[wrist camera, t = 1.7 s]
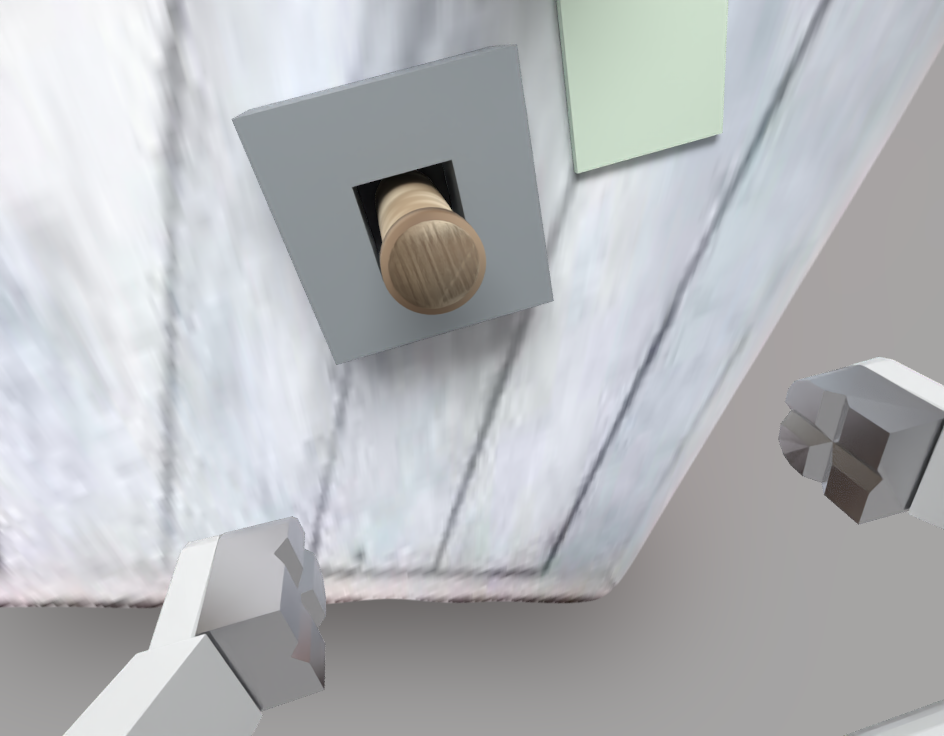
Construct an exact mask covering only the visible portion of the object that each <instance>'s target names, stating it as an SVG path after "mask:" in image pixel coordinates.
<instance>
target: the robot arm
mask: <svg viewBox="0 0 944 736" xmlns="http://www.w3.org/2000/svg"><path fill="white" fill-rule="evenodd" d="M786 404H787V405H788V406H789V408H790V409H791V411H790V412H789V414H788V415H787V416H786V417H785V419H784V420H783V421H782V423H781V426H780V433H779V442H780V446H781V449H782V452H783V455H784V456H785V458H786V459H787V460H788V462H789V464H790V465H791V466H792V467H793V468H794V469H795V470H797V472H799V473H800V474H801V475H802V476H804V477H807V478H810V479H812V480H815V481H818V482H821V483H822V487H823V493H824V495H825V496H826V497H827V498H828V499H829V500H831V501H832V502H833V503H834V504H835V505H836V506H838V507H839V508H840V509H841V510H842V511H844V512H845V513H846V514H847V515H848V516H849V517H850V518H851V519H853V520H854V521H855V522H856V523H857V524H862V523H866V522H869V521H873V520H877V519H880V518H884V517H887V516H891V515H894V514H898V513H901V512H905V511H909V512H908V514H909V515H912V516H914V517H916V518H919V519H921V520H923V521H925V522H927V523H930V524H932V525H934V526H937V527H939V528H941V529H943V530H944V386H943V385H941V384H939V383H937V382H935V381H933V380H931V379H930V378H927V377H926V376H923V375H921V374H920V373H918V372H916V371H914V370H912V369H910V368H908V367H906V366H904V365H902V364H900V363H898V362H897V361H895V360H893V359H888V358H882V357H877V358H873V359H870V360H866V361H863V362H859V363H856V364H852V365H850V366H848V367H843V368H840V369H836V370H832V371H829V372H825V373H822V374H818V375H815V376H811V377H807V378H804V379H800V380H796V381H794V383H793V384H792V385H791V386H790V388H789V389H788V392H787V397H786ZM304 545H305V532H304V530H303V528H302V526H301V524H300V522H299V520H298V518H296V517H293V516H292V517H287V518H283V519H279V520H275V521H271V522H267V523H263V524H259V525H255V526H251V527H247V528H243V529H238V530H234V531H230V532H226V533H224V534H222V535H217V536H213V537H209V538H205V539H201V540H197V541H192V542H188V543H187V545H186V546H185V547H184V548H183V549H182V550H181V552H180V554H179V557H178V560H177V563H176V567H175V570H174V573H173V576H172V579H171V582H170V585H169V588H168V591H167V594H166V597H165V600H164V604H163V607H162V610H161V613H160V616H159V619H158V623H157V625H156V628H155V631H154V634H153V638H152V641H151V644H150V647H149V650H147V651H145V652H141V653H138V654H136V655H135V656H134V657H133V658H132V659H131V660H130V661H129V663H128V664H127V665H126V666H125V667H124V668H123V669H122V670H121V672H120V673H119V674H118V675H117V676H116V677H115V678H114V679H113V680H112V682H111V683H110V684H109V685H108V686H107V687H106V688H105V689H104V690H103V691H102V693H101V694H100V695H99V696H98V697H97V698H96V699H95V700H94V701H93V703H92V704H91V705H90V706H89V707H88V708H87V709H86V711H85V712H84V713H83V714H82V715H81V716H80V717H79V718H78V719H77V720H76V722H75V723H74V724H73V725H72V726H71V727H70V728H69V729H68V730H67V731H66V733H65V734H64V735H63V736H252V735H253V733H254V731H255V729H256V727H257V725H258V723H259V721H260V720H261V718H262V716H263V715H262V713H261V711H264V710H267V709H270V708H273V707H276V706H279V705H282V704H285V703H288V702H291V701H294V700H297V699H300V698H302V697H306V696H308V695H311V694H314V693H317V692H320V691H323V690H324V686H325V684H324V683H325V681H324V680H325V642H324V641H323V638H322V636H321V635H320V632H319V630H318V627H319V626H320V624H321V623H322V621H323V620H324V618H325V616H326V596H325V588H324V581H323V576H322V573H321V569H320V566H319V563H318V561H317V558H316V556H315V554H314V553H312V552H310V551H308V550H306V549H304ZM844 736H944V700H941V701H938V702H935V703H933V704H930V705H927V706H924V707H921V708H919V709H916V710H913V711H911V712H908V713H905V714H902V715H899V716H897V717H894V718H891V719H888V720H886V721H883V722H880V723H877V724H874V725H872V726H869V727H866V728H863V729H861V730H858V731H855V732H852V733H850V734H847V735H844Z"/></svg>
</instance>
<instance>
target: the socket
mask: <svg viewBox="0 0 944 736" xmlns="http://www.w3.org/2000/svg"><path fill="white" fill-rule="evenodd" d="M232 121H233V124H234V126H235V128H236V131H237V133H238V135H239V138H240V140H241V142H242V145H243V147H244V149H245V152H246V154H247V156H248V159H249V161H250V164H251V166H252V168H253V171H254V173H255V175H256V178H257V180H258V182H259V185H260V187H261V189H262V192H263V194H264V196H265V199H266V201H267V203H268V206H269V208H270V210H271V213H272V215H273V217H274V220H275V222H276V224H277V227H278V229H279V231H280V234H281V236H282V238H283V241H284V243H285V245H286V248H287V250H288V253H289V255H290V257H291V260H292V262H293V264H294V267H295V269H296V271H297V274H298V276H299V278H300V281H301V283H302V285H303V288H304V290H305V292H306V295H307V297H308V299H309V302H310V304H311V306H312V309H313V311H314V313H315V316H316V318H317V320H318V323H319V325H320V327H321V330H322V332H323V334H324V337H325V339H326V342H327V344H328V346H329V349H330V351H331V353H332V356H333V358H334V360H335V363H336V365H338V364H342V363H345V362H349V361H352V360H355V359H359V358H362V357H365V356H369V355H372V354H376V353H379V352H382V351H386V350H389V349H393V348H396V347H399V346H403V345H406V344H410V343H413V342H416V341H420V340H423V339H426V338H430V337H433V336H437V335H440V334H443V333H447V332H450V331H454V330H457V329H460V328H464V327H467V326H471V325H474V324H477V323H481V322H484V321H487V320H491V319H494V318H498V317H501V316H504V315H508V314H511V313H515V312H518V311H521V310H525V309H528V308H532V307H535V306H538V305H542V304H545V303H548V302H552V301H553V294H552V287H551V280H550V273H549V266H548V259H547V252H546V245H545V238H544V231H543V224H542V217H541V210H540V203H539V196H538V189H537V182H536V175H535V168H534V162H533V155H532V148H531V141H530V134H529V127H528V120H527V113H526V106H525V99H524V92H523V85H522V78H521V71H520V64H519V57H518V50H517V45H502V46H491V47H487V48H483V49H480V50H476V51H472V52H468V53H464V54H460V55H457V56H453V57H449V58H445V59H441V60H438V61H434V62H430V63H426V64H422V65H418V66H415V67H411V68H407V69H403V70H399V71H396V72H392V73H388V74H384V75H380V76H376V77H373V78H369V79H365V80H361V81H357V82H354V83H350V84H346V85H342V86H338V87H334V88H331V89H327V90H323V91H319V92H315V93H312V94H308V95H304V96H300V97H296V98H292V99H289V100H285V101H281V102H277V103H273V104H269V105H266V106H262V107H258V108H254V109H250V110H247V111H246V112H244V113H242V114H240V115H239V116H237V117H235V118H233V119H232ZM441 162H442V166H443V170H444V174H445V179H446V183H447V187H448V191H449V196H450V200H451V204H452V208H453V212H455V213H457V214H458V215H460V216H461V217H463V218H464V219H465V220H466V221H467V222H468V223H469V224H470V225H471V226H472V228H473V229H474V230H475V232H476V233H477V234H478V236H479V238H480V239H481V241H482V244H483V246H484V250H485V255H486V270H485V274H484V278H483V281H482V283H481V285H480V287H479V289H478V290H477V292H476V293H475V294H474V296H473V297H472V298H471V299H470V300H469V301H468V302H466V303H465V304H464V305H462V306H461V307H459V308H457V309H455V310H453V311H450V312H448V313H443V314H437V315H426V314H420V313H416V312H413V311H411V310H409V309H407V308H405V307H403V306H402V305H401V304H399V303H398V302H397V301H396V300H395V299H394V298H393V297H392V296H391V294H390V293H389V291H388V290H387V288H386V286H385V283H384V281H383V277H382V273H381V267H380V254H378V251H377V248H376V245H375V242H374V238H373V235H372V232H371V229H370V226H369V223H368V220H367V217H366V214H365V211H364V208H363V205H362V202H361V199H360V196H359V193H358V190H357V187H356V186H358V185H361V184H365V183H369V182H372V181H376V180H379V179H383V178H387V177H390V176H394V175H398V174H401V173H405V172H409V171H412V170H416V169H420V168H423V167H427V166H430V165H434V164H438V163H441Z"/></svg>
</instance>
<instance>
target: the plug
mask: <svg viewBox="0 0 944 736" xmlns="http://www.w3.org/2000/svg"><path fill="white" fill-rule="evenodd" d="M375 208H376V213H377V218H378V223H379V228H380V233H381V238H382V245H381V250H380V267H381V273H382V277H383V281H384V283H385V286H386V288H387V290H388V291H389V293H390V294H391V296H392V297H393V298H394V299H395V300H396V301H397V302H398V303H399V304H401V305H402V306H403V307H405V308H407V309H409V310H411V311H413V312H416V313H420V314H426V315H437V314H443V313H448V312H450V311H453V310H455V309H457V308H459V307H461V306H462V305H464V304H465V303H466V302H468V301H469V300H470V299H471V298H472V297H473V296H474V294H475V293H476V292H477V290H478V289H479V287H480V285H481V283H482V281H483V278H484V274H485V270H486V255H485V250H484V246H483V244H482V241H481V239H480V238H479V236H478V234H477V233H476V232H475V230H474V229H473V228H472V226H471V225H470V224H469V223H468V222H467V221H466V220H465V219H464V218H463V217H461V216H460V215H458V214H457V213H455V212H453V211H452V209H451V208H450V207H449V205H448V204H447V202H446V201H445V199H444V198H443V197H442V195H441V194H440V192H439V191H438V189H437V188H436V187H435V185H434V184H433V182H432V181H431V180H430V179H429V178H428V177H427V176H426V175H425V174H423V173H422V172H420V171H417V170H412V171H409V172H405V173H401V174H398V175H394V176H390V177H387V178H383V179H382V180H381V182H380V183H379V185H378V187H377V189H376V193H375Z"/></svg>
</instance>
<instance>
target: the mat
mask: <svg viewBox="0 0 944 736" xmlns="http://www.w3.org/2000/svg"><path fill="white" fill-rule="evenodd" d="M556 1H557V11H558V21H559V30H560V40H561V49H562V59H563V69H564V78H565V88H566V97H567V107H568V116H569V126H570V136H571V145H572V155H573V164H574V172H575V173H577V174H578V173H582V172H585V171H589V170H592V169H596V168H600V167H603V166H607V165H610V164H614V163H617V162H621V161H625V160H628V159H632V158H635V157H639V156H642V155H646V154H650V153H653V152H657V151H660V150H664V149H667V148H671V147H675V146H678V145H682V144H685V143H689V142H692V141H696V140H699V139H703V138H707V137H710V136H714V135H717V134H721V133H722V131H723V108H724V85H725V62H726V39H727V16H728V0H556Z"/></svg>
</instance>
